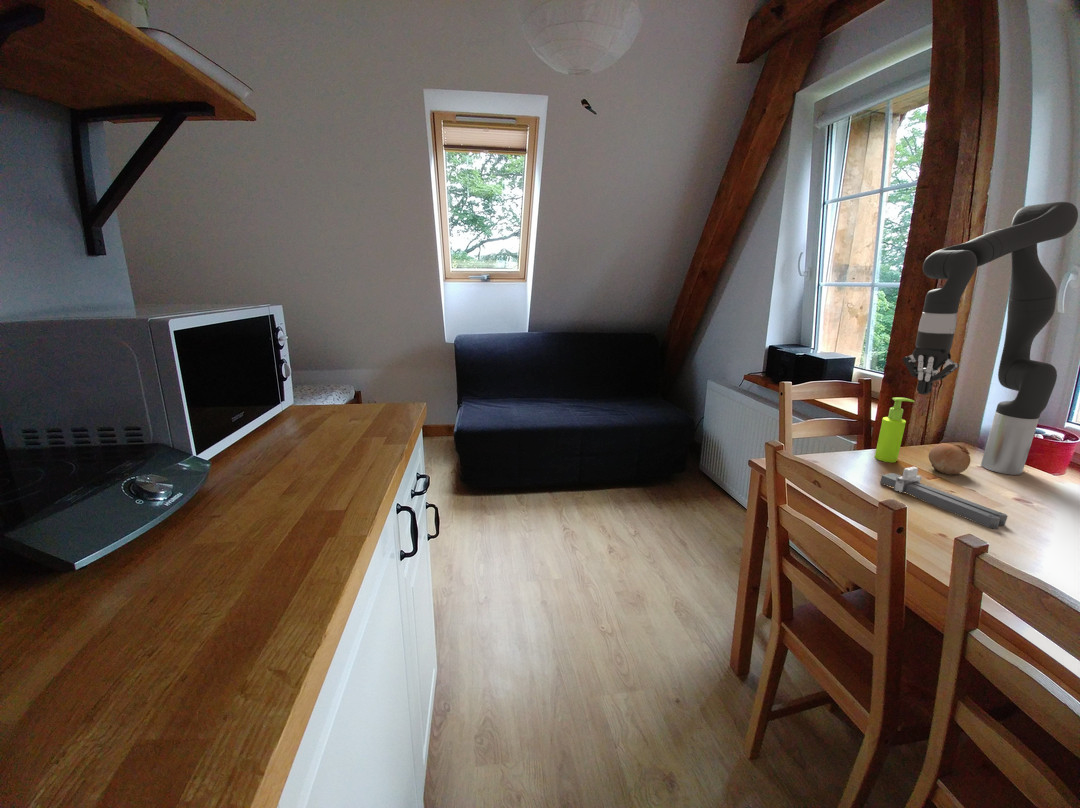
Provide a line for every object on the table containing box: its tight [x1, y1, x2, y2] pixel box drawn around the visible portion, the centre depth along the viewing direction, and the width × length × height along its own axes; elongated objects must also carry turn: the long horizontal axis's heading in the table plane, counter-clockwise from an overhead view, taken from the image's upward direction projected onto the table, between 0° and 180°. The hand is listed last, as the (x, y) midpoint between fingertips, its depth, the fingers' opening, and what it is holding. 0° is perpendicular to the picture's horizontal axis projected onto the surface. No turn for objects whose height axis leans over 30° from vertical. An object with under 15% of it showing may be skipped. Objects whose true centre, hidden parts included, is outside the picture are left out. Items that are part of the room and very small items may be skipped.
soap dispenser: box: [874, 397, 916, 463], centre depth 150 cm, size 6×7×20 cm
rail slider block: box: [893, 466, 922, 493], centre depth 130 cm, size 2×7×6 cm, turn 112°
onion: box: [928, 442, 971, 476], centre depth 142 cm, size 10×9×10 cm
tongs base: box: [879, 472, 1000, 530], centre depth 124 cm, size 26×5×2 cm, turn 22°
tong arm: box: [911, 482, 1009, 526], centre depth 123 cm, size 22×2×2 cm, turn 24°
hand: (923, 393), depth 131 cm, fingers closed
